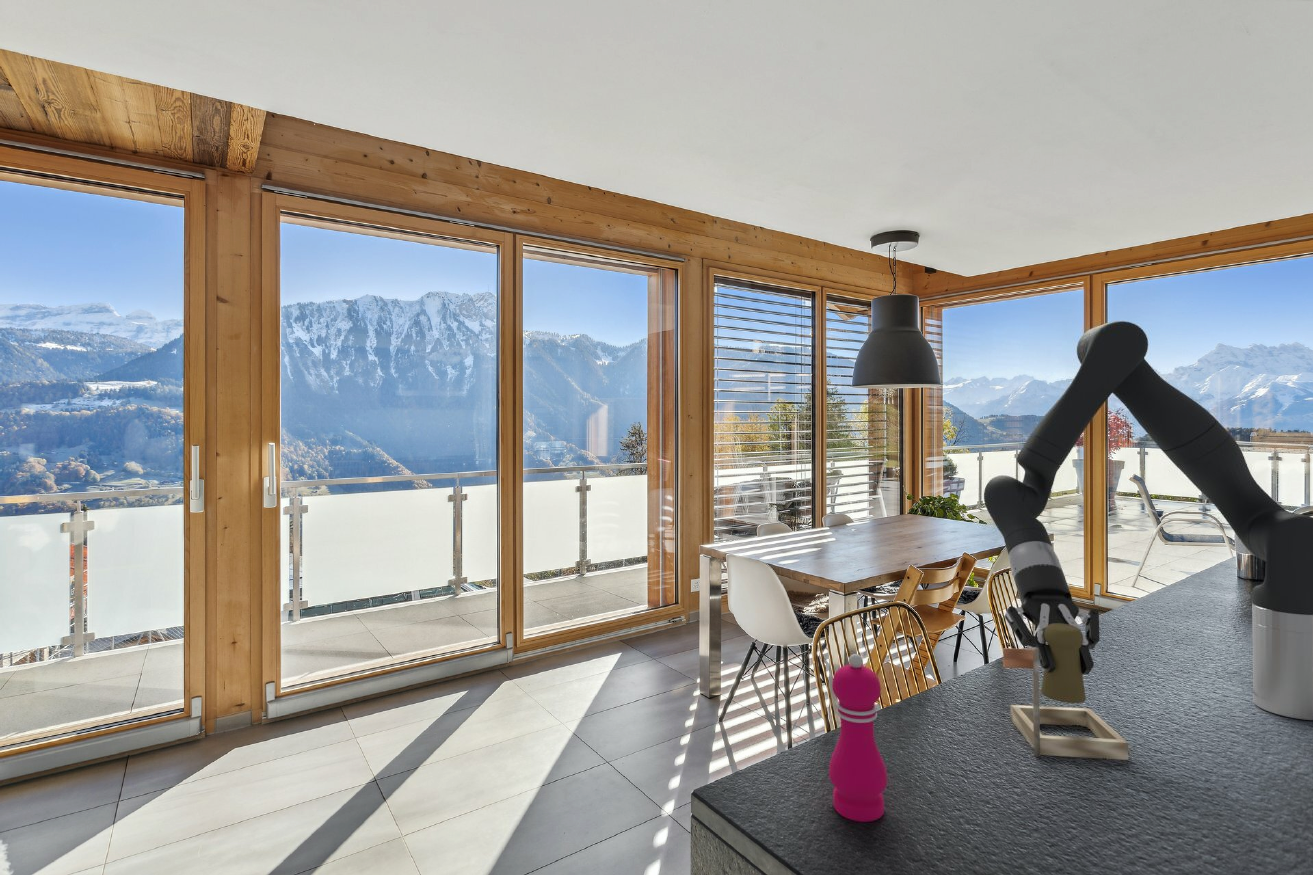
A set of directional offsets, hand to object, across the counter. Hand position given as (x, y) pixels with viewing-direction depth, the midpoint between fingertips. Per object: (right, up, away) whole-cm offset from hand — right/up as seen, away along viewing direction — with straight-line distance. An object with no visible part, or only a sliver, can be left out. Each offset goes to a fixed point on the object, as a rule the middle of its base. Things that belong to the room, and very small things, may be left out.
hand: (1069, 670), depth 102 cm
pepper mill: (-37, -12, -16) cm, 42 cm away
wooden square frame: (-2, -11, +2) cm, 12 cm away
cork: (0, -5, +2) cm, 5 cm away
